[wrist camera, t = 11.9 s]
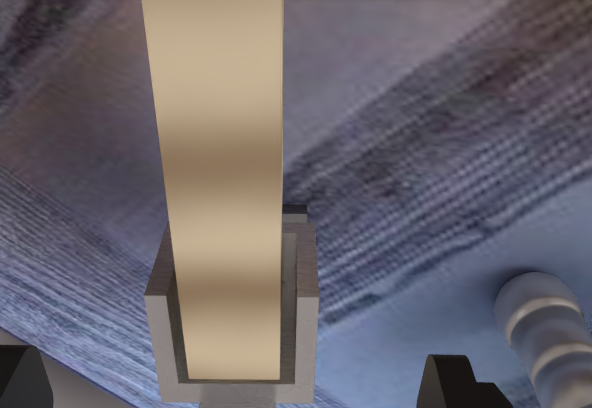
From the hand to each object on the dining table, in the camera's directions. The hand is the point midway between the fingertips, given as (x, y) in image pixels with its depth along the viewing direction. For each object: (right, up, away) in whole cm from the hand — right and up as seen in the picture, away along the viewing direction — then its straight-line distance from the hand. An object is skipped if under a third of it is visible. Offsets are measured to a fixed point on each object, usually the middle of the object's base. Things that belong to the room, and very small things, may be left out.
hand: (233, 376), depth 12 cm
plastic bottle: (+21, -4, +37) cm, 42 cm away
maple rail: (-2, +8, +14) cm, 16 cm away
